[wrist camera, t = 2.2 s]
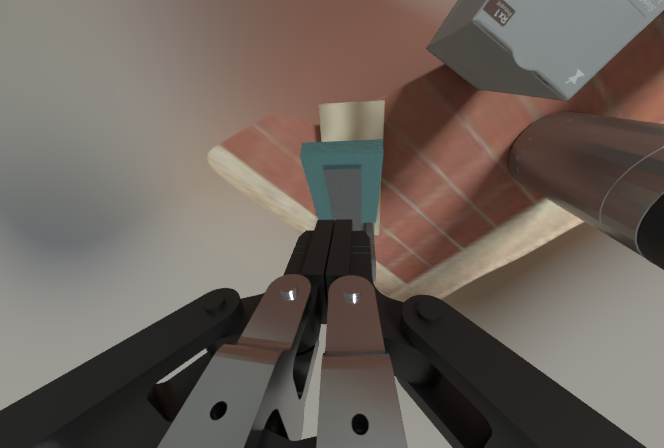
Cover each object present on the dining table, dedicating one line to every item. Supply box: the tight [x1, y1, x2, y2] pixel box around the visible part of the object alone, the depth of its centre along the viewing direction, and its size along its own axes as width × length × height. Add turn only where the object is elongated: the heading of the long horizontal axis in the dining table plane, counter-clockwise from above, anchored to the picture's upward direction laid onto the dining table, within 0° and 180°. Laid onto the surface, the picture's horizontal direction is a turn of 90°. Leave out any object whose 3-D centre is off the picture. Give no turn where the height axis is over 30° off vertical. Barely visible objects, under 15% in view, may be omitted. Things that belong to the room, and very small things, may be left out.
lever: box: [300, 139, 384, 231], centre depth 23 cm, size 5×17×11 cm, turn 4°
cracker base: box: [319, 100, 385, 281], centre depth 29 cm, size 8×19×13 cm, turn 4°
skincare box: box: [426, 0, 664, 101], centre depth 19 cm, size 8×7×16 cm
